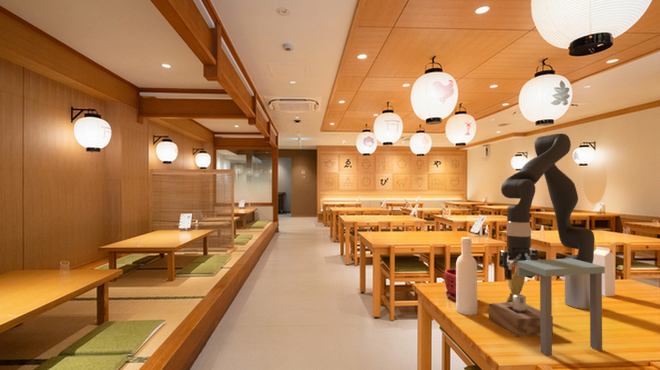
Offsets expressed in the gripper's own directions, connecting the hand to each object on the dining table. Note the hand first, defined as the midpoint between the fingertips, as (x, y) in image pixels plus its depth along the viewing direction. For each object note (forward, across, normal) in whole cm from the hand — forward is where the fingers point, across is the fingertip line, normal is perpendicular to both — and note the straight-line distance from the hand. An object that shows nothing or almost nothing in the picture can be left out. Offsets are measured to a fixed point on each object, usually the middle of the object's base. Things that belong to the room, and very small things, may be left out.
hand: (519, 278), depth 111 cm
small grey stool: (+17, -3, +14) cm, 22 cm away
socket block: (+17, 0, 0) cm, 17 cm away
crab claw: (+18, -9, -13) cm, 24 cm away
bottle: (+18, +11, -15) cm, 26 cm away
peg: (+16, 0, 0) cm, 16 cm away
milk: (+18, -65, -23) cm, 71 cm away
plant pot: (+18, +5, -29) cm, 34 cm away
